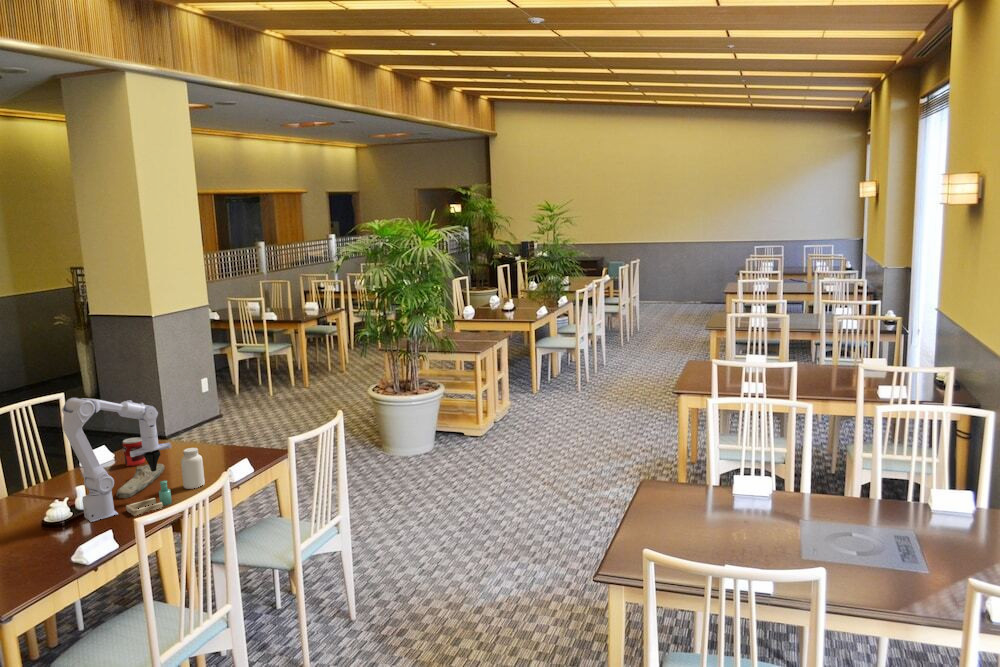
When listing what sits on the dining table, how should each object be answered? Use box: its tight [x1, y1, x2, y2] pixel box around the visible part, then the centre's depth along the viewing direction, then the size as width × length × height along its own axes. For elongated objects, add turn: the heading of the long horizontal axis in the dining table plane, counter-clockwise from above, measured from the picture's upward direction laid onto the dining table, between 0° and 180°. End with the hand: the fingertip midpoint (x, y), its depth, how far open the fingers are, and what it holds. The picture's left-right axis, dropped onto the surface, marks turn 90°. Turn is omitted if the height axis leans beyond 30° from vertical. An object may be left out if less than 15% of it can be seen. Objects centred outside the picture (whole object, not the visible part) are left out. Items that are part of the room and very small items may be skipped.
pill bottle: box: [180, 447, 206, 490], centre depth 306 cm, size 8×8×15 cm
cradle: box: [125, 497, 164, 517], centre depth 284 cm, size 10×8×2 cm
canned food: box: [122, 437, 146, 467], centre depth 339 cm, size 8×8×11 cm
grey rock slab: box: [115, 463, 166, 499], centre depth 313 cm, size 35×5×10 cm
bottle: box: [158, 480, 173, 507], centre depth 288 cm, size 4×4×8 cm
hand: (153, 470), depth 295 cm, fingers closed
